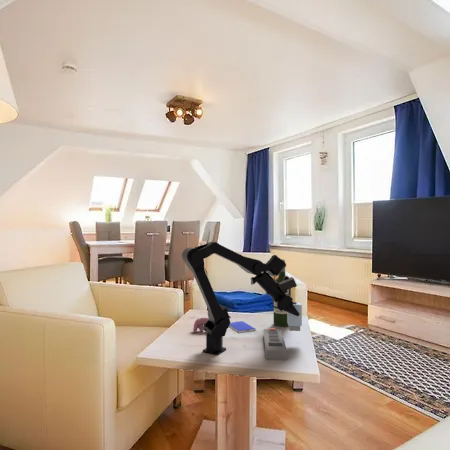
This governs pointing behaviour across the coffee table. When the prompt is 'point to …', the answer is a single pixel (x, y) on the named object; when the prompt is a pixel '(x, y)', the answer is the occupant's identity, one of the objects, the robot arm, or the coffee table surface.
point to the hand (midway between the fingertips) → (298, 314)
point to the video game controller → (199, 324)
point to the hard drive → (241, 327)
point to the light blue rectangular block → (295, 318)
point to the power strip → (274, 344)
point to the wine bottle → (279, 316)
